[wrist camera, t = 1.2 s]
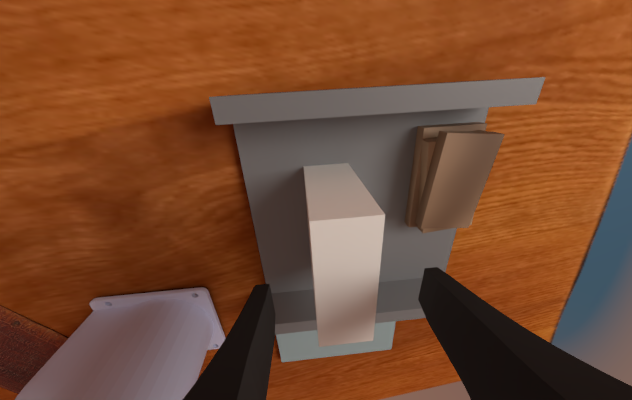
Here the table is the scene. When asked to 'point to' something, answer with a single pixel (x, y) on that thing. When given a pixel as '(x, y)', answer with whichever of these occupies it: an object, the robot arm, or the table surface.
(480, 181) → the offcut stack
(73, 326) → the table surface
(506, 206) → the table surface
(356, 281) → the white rectangular block
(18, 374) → the wooden tablet
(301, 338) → the mat
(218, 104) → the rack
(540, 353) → the robot arm
